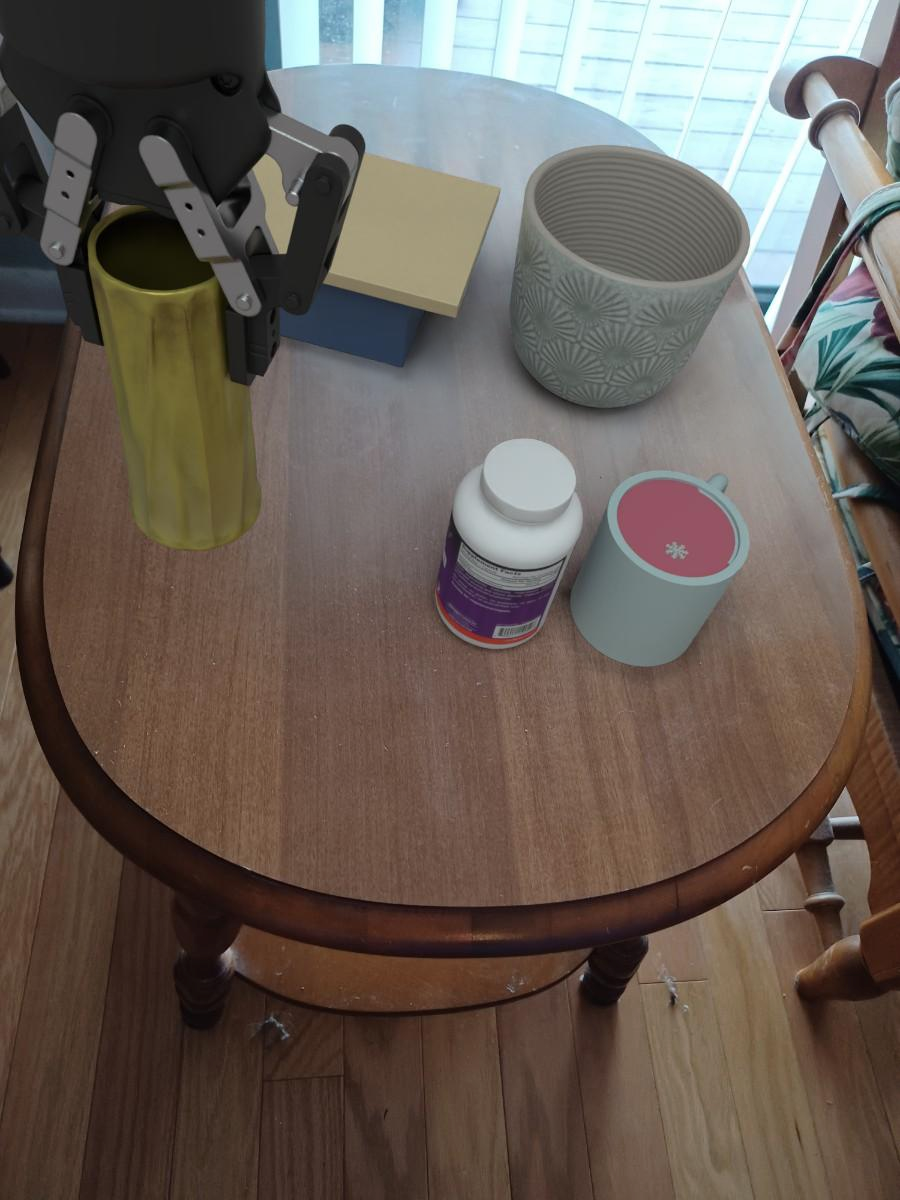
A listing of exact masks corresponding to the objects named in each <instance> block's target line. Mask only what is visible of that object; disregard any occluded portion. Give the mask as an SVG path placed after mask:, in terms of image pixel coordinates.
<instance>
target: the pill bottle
mask: <svg viewBox="0 0 900 1200" xmlns="http://www.w3.org/2000/svg"><path fill="white" fill-rule="evenodd" d="M576 487H577V475H576V471H575V468H574V466H573V464H572V463H571V461H570V460H569V459H568V457H567V456H566V455H565V454H564V453H563V452H562V451H561V450H559V449H558V448H557V447H554V445H552V444H549V443H547V442H545V441H543V440H542V441H541V440H538V439H534V438H526V437H525V438H513V439H508V440H505V441H503V442H501V443H498V444H497V445H496V446H494V447H493V448H492V449H491V450H490V451H489V452H488V453H487V454H486V456H485V459H484V461H483V463H480V464H478V465H477V466H475V467H473V468H472V469H471V470H470V471H469V472H468V473H467V474H466V475H465V476H464V477H463V479H462V480H461V481H460V483H459V485H458V486H457V488H456V491H455V494H454V498H453V500H452V501H453V502H452V506H451V510H450V516H449V521H448V526H447V530H446V534H445V535H446V536H445V540H444V545H443V549H442V553H441V554H442V555H441V561H440V564H439V569H438V574H437V578H436V584H435V593H434V599H435V604H436V609H437V612H438V613H439V617H440V618H441V619H442V622H443V623H444V625H446V626H447V628H448V629H449V630H450V631H451V632H452V633H453V634H454V635H455V636H456V637H458V638H459V639H461V640H463V641H465V642H466V643H469V644H471V645H473V646H475V647H476V646H477V647H479V648H482V649H483V648H484V649H489V650H504V649H505V650H506V649H510V648H514V647H517V646H520V645H522V644H524V643H526V642H528V641H529V640H531V639H532V638H533V637H534V636H536V635H537V633H539V631H540V630H541V629H542V627H543V626H544V624H545V622H546V620H547V618H548V616H549V614H550V611H551V608H552V605H553V602H554V601H555V597H556V595H557V592H558V590H559V587H560V585H561V582H562V580H563V577H564V574H565V572H566V570H567V567H568V565H569V563H570V559H571V557H572V555H573V553H574V550H575V547H576V545H577V543H578V540H579V538H580V535H581V532H582V529H583V523H584V522H583V521H584V514H583V513H584V512H583V507H582V504H581V503H582V502H581V500H580V498H579V495H578V493H577V492H576Z"/></svg>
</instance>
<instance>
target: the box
mask: <svg viewBox="0 0 900 1200" xmlns="http://www.w3.org/2000/svg"><path fill="white" fill-rule="evenodd" d="M252 169H253V171H254V173H255V176H256V178H257V181H258V183H259V186H260V188H261V190H262V193H263V195H264V198H265V203H266V212H265V219H266V222H267V225H268V227H269V230H270V232H271V234H272V237H273V239H274V242H275V244H276V246H277V249H278V251H279V253H280V254H286V253H287V248H288V244H289V240H290V236H291V232H292V228H293V224H294V219H295V215H296V211H297V207H298V206H296V207H294V206H291V205H289V204H288V203H287V201H286V199H285V195H286V193H285V191H284V189H283V186H282V172H281V169H280V167H279V165H278V164H277V162H276V161H275V160H274V159H273V158H271V157H270V156H269V155H267V154H265V155H264V156H263V157H262V158H261V159H260V160H259V161H258V163H257V164H256V165H255V166H254V167H253V168H252ZM500 194H501V187H499V186H495V185H491V184H487V183H484V182H480V181H476V180H473V179H468V178H466V177H465V178H464V177H461V176H457V175H453V174H450V173H446V172H442V171H437V170H433V169H430V168H426V167H422V166H418V165H415V164H411V163H407V162H404V161H399V160H397V159H396V160H395V159H392V158H389V157H384V156H381V155H377V154H373V153H370V152H369V153H368V152H365V153H364V156H363V160H362V163H361V167H360V170H359V173H358V177H357V180H356V184H355V187H354V190H353V194H352V197H351V201H350V204H349V207H348V211H347V214H346V218H345V221H344V224H343V228H342V231H341V235H340V238H339V242H338V245H337V248H336V252H335V255H334V259H333V262H332V265H331V268H330V270H329V272H328V274H327V276H326V278H325V280H324V282H323V284H322V286H321V288H320V290H319V292H318V293H317V295H316V297H315V299H314V301H313V303H312V305H311V307H310V309H309V311H308V312H307V313H306V314H304V315H293V314H290V313H288V312H286V311H285V310H284V309H283V308H282V307H280V325H279V326H280V336H282V337H286V338H289V339H293V340H297V341H301V342H305V343H308V344H313V345H316V346H319V347H324V348H328V349H332V350H335V351H339V352H343V353H346V354H350V355H354V356H358V357H361V358H365V359H368V360H369V359H370V360H373V361H376V362H380V363H384V364H388V365H392V366H395V367H399V368H403V366H404V364H405V361H406V358H407V356H408V353H409V352H410V348H411V346H412V343H413V341H414V338H415V335H416V333H417V331H418V328H419V325H420V323H421V320H422V318H423V315H424V313H425V311H426V312H430V313H435V314H437V315H442V316H446V317H449V318H453V319H456V318H457V317H458V315H459V311H460V309H461V305H462V303H463V300H464V297H465V294H466V291H467V289H468V286H469V283H470V281H471V278H472V275H473V273H474V270H475V266H476V264H477V262H478V258H479V256H480V253H481V250H482V248H483V245H484V241H485V239H486V236H487V233H488V231H489V228H490V225H491V222H492V219H493V216H494V214H495V211H496V209H497V205H498V203H499V200H500Z"/></svg>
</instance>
